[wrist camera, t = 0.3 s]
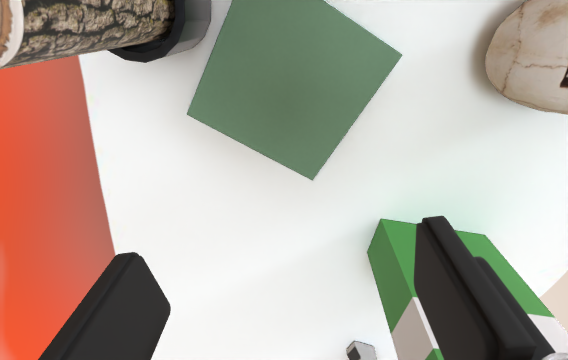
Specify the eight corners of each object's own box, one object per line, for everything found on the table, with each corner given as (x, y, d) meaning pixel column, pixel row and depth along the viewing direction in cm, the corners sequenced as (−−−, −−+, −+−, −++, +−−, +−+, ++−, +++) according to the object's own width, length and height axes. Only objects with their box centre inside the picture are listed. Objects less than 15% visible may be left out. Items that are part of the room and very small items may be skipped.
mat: (252, -48, 31) (252, -49, 30) (401, 54, 35) (402, 54, 35) (187, 113, 40) (186, 114, 39) (312, 178, 44) (312, 180, 44)
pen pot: (136, -73, 30) (79, -104, 22) (224, -16, 32) (201, -26, 24) (114, 22, 35) (60, 25, 27) (192, 67, 37) (164, 81, 29)
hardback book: (485, 235, 48) (629, 405, 27) (464, 266, 51) (577, 438, 31) (380, 218, 47) (446, 381, 26) (367, 252, 51) (415, 418, 30)
